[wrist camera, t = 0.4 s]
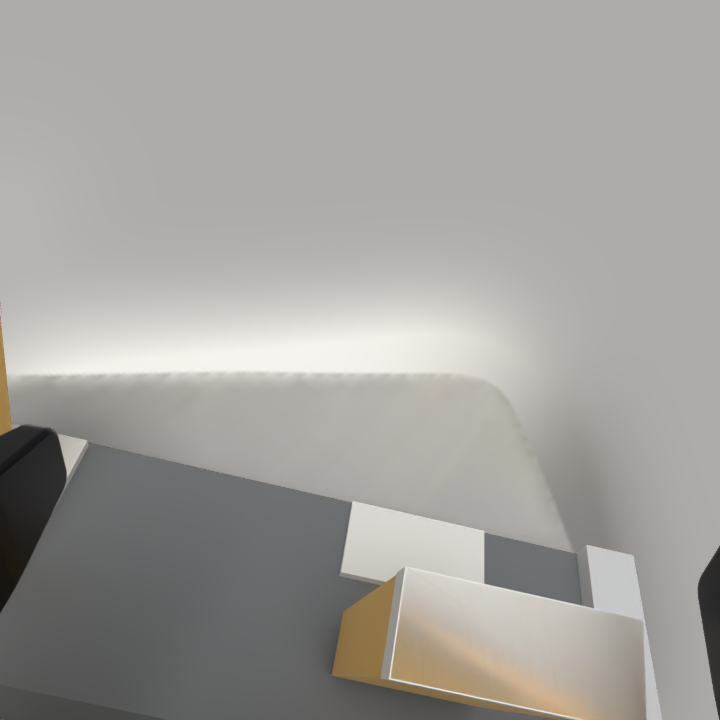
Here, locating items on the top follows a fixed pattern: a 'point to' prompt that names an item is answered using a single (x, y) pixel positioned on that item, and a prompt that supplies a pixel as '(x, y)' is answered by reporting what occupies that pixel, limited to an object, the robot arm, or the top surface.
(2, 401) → the outlet rocker
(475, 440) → the top surface
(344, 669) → the outlet rocker
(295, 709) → the power strip
